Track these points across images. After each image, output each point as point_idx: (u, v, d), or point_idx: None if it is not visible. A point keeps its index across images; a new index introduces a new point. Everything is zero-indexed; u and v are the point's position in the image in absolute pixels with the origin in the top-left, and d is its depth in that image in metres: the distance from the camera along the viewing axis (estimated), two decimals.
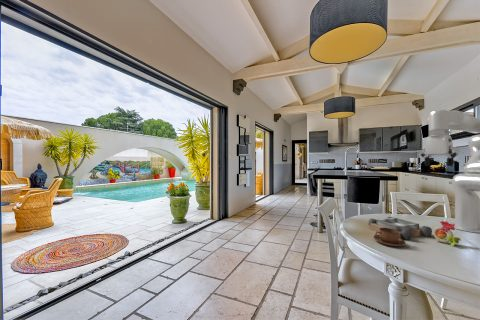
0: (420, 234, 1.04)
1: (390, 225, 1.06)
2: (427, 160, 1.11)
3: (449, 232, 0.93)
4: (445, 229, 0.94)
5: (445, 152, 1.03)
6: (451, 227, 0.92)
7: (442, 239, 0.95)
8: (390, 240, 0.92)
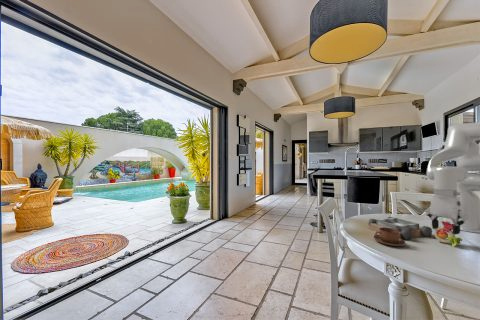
0: (420, 234, 1.04)
1: (390, 225, 1.06)
2: (435, 223, 0.98)
3: (450, 232, 0.93)
4: (446, 229, 0.94)
5: (453, 217, 0.90)
6: (452, 227, 0.92)
7: (443, 239, 0.94)
8: (390, 240, 0.92)
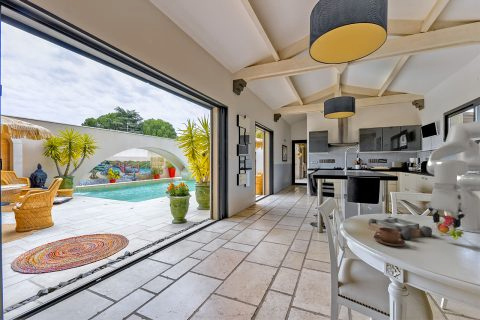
0: (420, 234, 1.04)
1: (390, 225, 1.06)
2: (436, 216, 0.98)
3: (452, 226, 0.93)
4: (447, 223, 0.94)
5: (454, 211, 0.90)
6: None
7: (445, 233, 0.95)
8: (390, 240, 0.92)
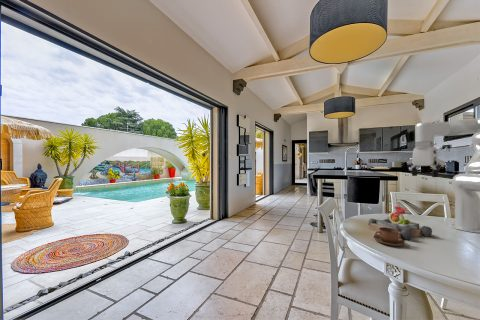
0: (420, 234, 1.04)
1: (390, 225, 1.06)
2: (414, 170, 1.15)
3: (400, 215, 1.08)
4: (398, 213, 1.10)
5: (430, 164, 1.06)
6: (402, 211, 1.08)
7: (395, 222, 1.10)
8: (390, 240, 0.92)
